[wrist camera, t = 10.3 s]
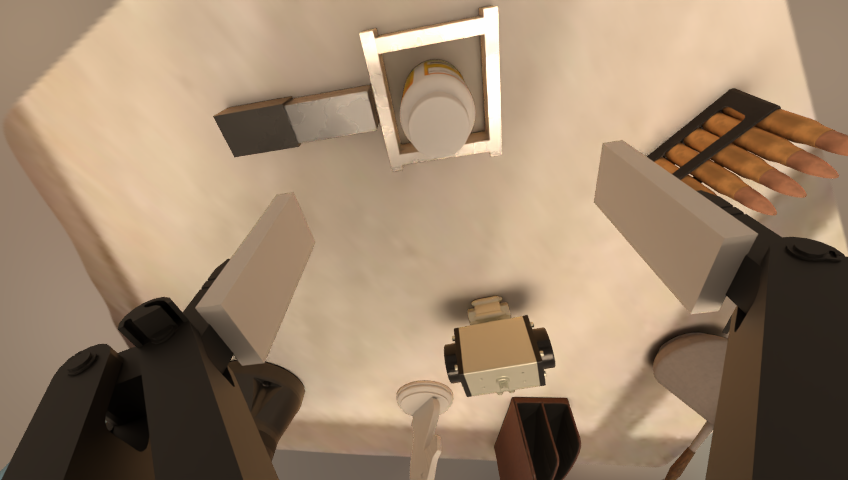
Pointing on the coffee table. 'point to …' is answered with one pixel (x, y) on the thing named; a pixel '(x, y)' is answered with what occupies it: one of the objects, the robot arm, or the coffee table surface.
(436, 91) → the supplement bottle
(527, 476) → the letter holder
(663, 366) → the coffee pot
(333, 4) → the coffee table surface
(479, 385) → the pneumatic valve
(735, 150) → the ammunition clip
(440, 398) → the chess piece
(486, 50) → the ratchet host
